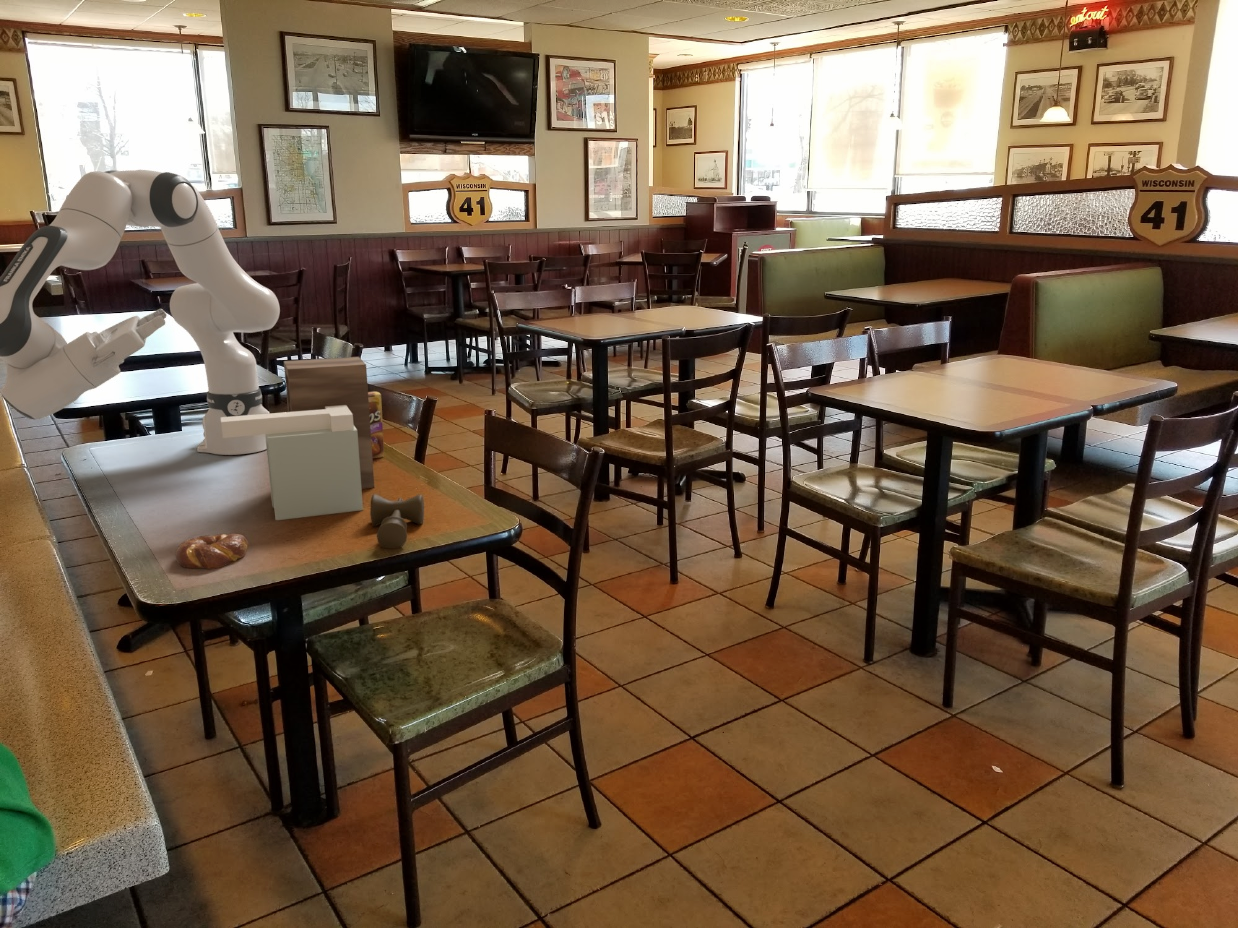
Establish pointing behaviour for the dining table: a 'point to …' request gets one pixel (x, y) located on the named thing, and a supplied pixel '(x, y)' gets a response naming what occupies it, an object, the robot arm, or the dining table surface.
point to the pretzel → (211, 551)
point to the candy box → (376, 424)
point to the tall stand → (334, 397)
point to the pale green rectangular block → (314, 473)
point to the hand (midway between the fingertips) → (163, 315)
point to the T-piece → (288, 422)
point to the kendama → (395, 518)
